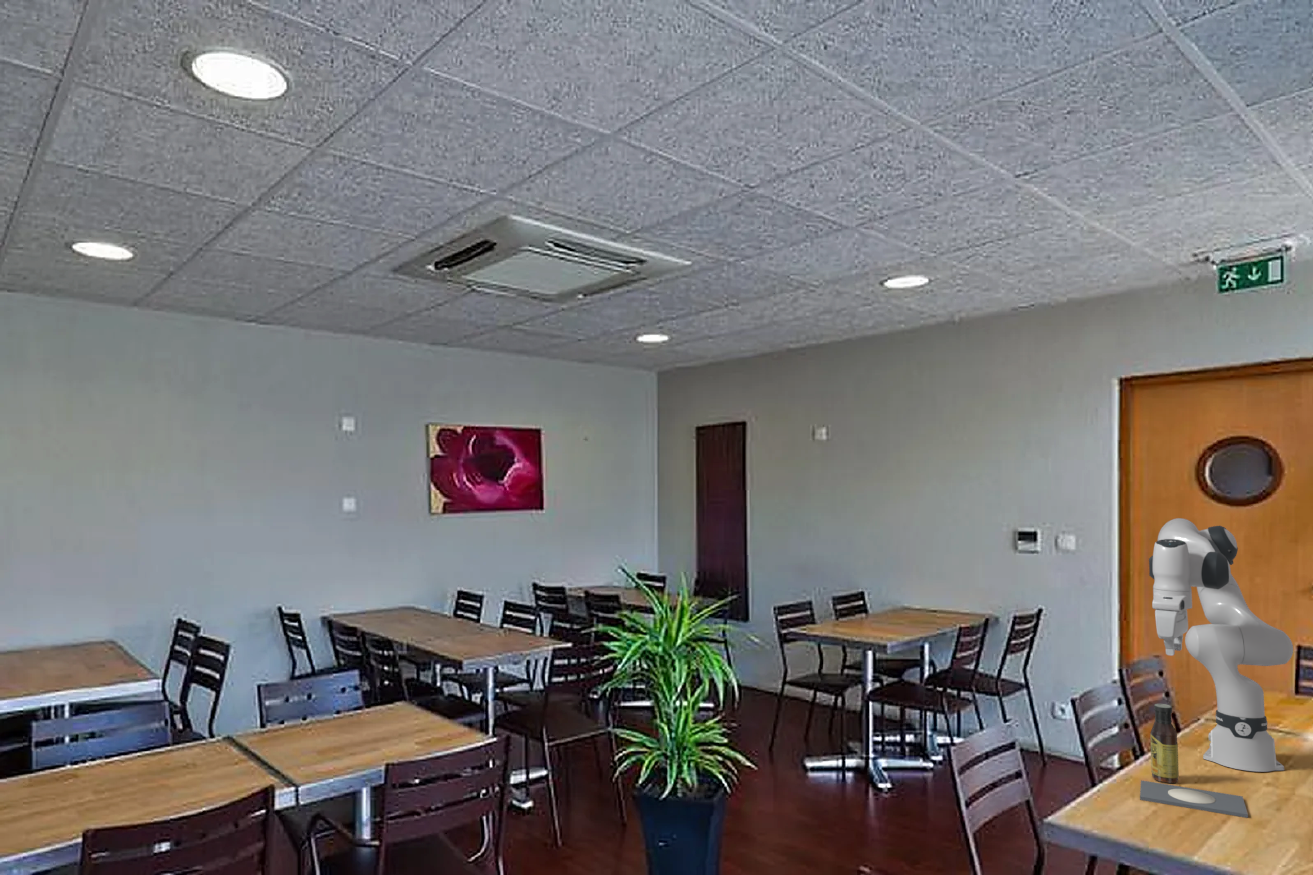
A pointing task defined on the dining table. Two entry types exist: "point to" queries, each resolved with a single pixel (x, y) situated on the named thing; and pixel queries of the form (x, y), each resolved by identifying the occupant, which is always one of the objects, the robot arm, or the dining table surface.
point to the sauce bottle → (1164, 746)
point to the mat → (1193, 798)
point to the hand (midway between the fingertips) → (1174, 652)
